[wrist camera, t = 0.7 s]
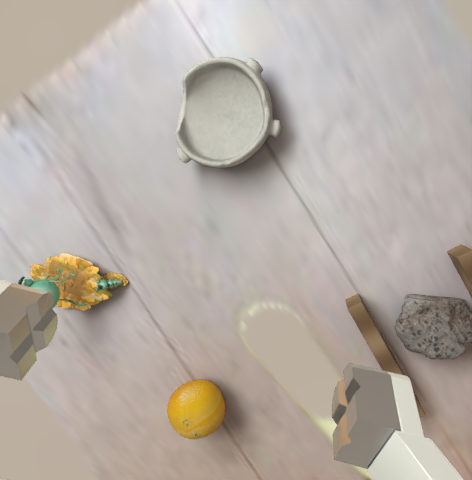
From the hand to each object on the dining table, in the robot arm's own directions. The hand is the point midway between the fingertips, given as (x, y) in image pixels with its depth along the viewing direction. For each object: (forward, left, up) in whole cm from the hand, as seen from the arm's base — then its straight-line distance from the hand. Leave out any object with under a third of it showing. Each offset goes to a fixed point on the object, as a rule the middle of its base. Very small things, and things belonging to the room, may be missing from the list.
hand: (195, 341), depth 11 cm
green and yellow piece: (+5, +36, -46) cm, 59 cm away
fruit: (-21, +27, -46) cm, 58 cm away
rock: (-24, -9, -47) cm, 53 cm away
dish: (+14, +1, -47) cm, 49 cm away
